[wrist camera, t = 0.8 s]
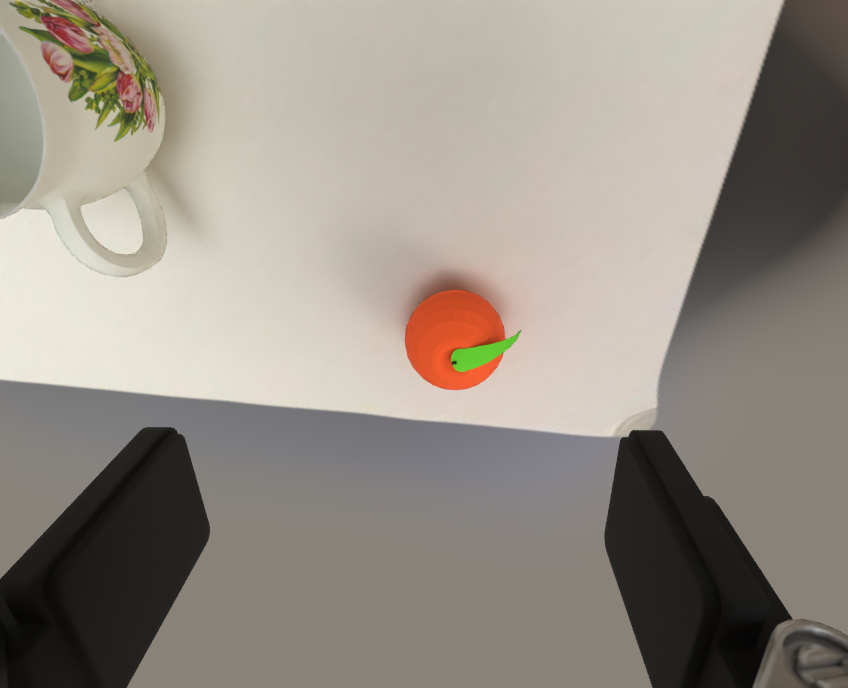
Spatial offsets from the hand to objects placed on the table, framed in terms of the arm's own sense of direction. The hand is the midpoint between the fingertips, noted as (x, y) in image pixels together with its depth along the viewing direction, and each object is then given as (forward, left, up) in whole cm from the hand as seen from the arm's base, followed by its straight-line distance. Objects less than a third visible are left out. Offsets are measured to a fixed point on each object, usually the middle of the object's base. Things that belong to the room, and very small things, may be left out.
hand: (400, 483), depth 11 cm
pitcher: (-15, -16, -27) cm, 35 cm away
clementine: (+7, -1, -27) cm, 28 cm away
